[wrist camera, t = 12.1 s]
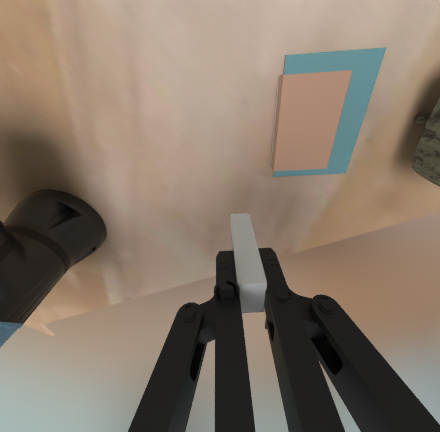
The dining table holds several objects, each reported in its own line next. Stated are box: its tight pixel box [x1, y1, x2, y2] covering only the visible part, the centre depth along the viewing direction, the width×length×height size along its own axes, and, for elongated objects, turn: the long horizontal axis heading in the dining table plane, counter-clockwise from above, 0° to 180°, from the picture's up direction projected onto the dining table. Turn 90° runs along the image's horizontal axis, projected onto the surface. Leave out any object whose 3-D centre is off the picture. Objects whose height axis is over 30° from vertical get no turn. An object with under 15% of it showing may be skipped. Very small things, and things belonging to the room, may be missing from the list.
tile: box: [270, 70, 352, 171], centre depth 27 cm, size 2×12×8 cm
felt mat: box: [273, 48, 386, 177], centre depth 28 cm, size 12×16×1 cm
